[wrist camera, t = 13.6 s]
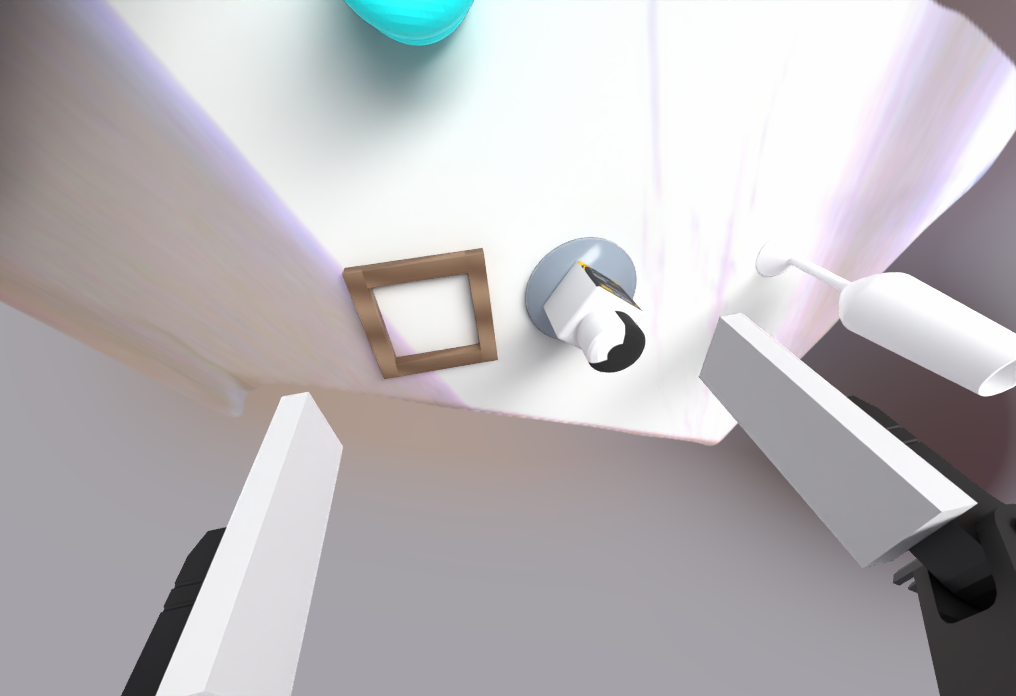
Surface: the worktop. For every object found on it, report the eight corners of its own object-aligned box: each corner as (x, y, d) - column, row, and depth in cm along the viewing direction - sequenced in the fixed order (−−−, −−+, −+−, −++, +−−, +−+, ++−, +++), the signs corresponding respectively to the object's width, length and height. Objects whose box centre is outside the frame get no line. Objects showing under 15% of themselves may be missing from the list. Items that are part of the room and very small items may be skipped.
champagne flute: (772, 285, 50) (976, 413, 31) (746, 262, 47) (954, 389, 28) (816, 244, 47) (1071, 359, 28) (792, 217, 44) (1058, 325, 25)
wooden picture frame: (345, 268, 39) (342, 274, 38) (482, 248, 40) (483, 253, 39) (385, 371, 48) (384, 378, 47) (496, 352, 50) (497, 359, 48)
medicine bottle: (619, 284, 45) (668, 340, 36) (584, 327, 48) (620, 389, 39) (576, 258, 42) (618, 312, 33) (541, 305, 45) (569, 367, 36)
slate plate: (522, 246, 41) (523, 249, 40) (641, 229, 42) (644, 231, 41) (528, 344, 50) (529, 348, 49) (626, 328, 51) (629, 331, 50)
